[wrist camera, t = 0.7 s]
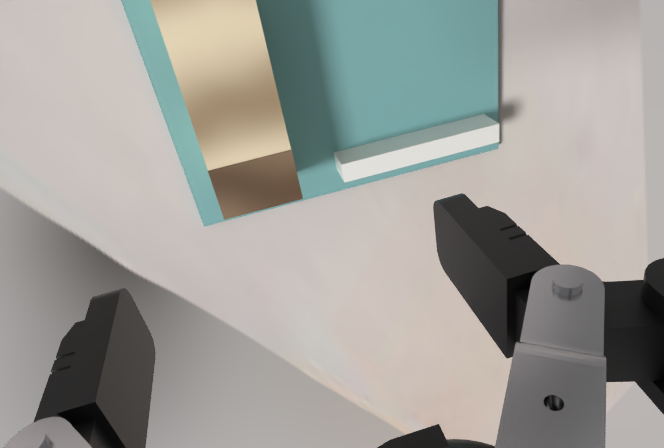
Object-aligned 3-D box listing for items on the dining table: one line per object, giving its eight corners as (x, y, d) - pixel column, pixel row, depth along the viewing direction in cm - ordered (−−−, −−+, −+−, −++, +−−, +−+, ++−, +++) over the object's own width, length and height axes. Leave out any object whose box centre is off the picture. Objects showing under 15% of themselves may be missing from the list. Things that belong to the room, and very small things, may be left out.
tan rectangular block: (151, -21, 25) (144, -15, 22) (242, -40, 25) (247, -37, 22) (222, 191, 31) (224, 219, 28) (293, 173, 31) (303, 198, 28)
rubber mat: (100, -60, 24) (99, -60, 24) (492, -140, 26) (497, -142, 25) (204, 222, 32) (204, 226, 32) (494, 145, 34) (498, 148, 34)
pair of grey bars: (292, -63, 25) (299, -63, 23) (479, -103, 26) (498, -105, 24) (336, 169, 32) (344, 182, 30) (484, 131, 33) (499, 141, 31)
